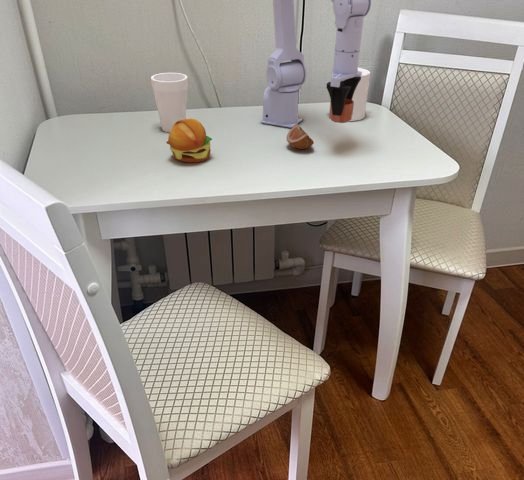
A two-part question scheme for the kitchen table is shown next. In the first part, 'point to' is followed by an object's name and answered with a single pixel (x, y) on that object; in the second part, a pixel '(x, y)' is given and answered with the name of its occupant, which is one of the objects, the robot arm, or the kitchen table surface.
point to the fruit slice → (299, 138)
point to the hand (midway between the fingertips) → (340, 111)
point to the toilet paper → (360, 96)
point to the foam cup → (170, 98)
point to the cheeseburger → (189, 141)
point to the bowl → (346, 112)
